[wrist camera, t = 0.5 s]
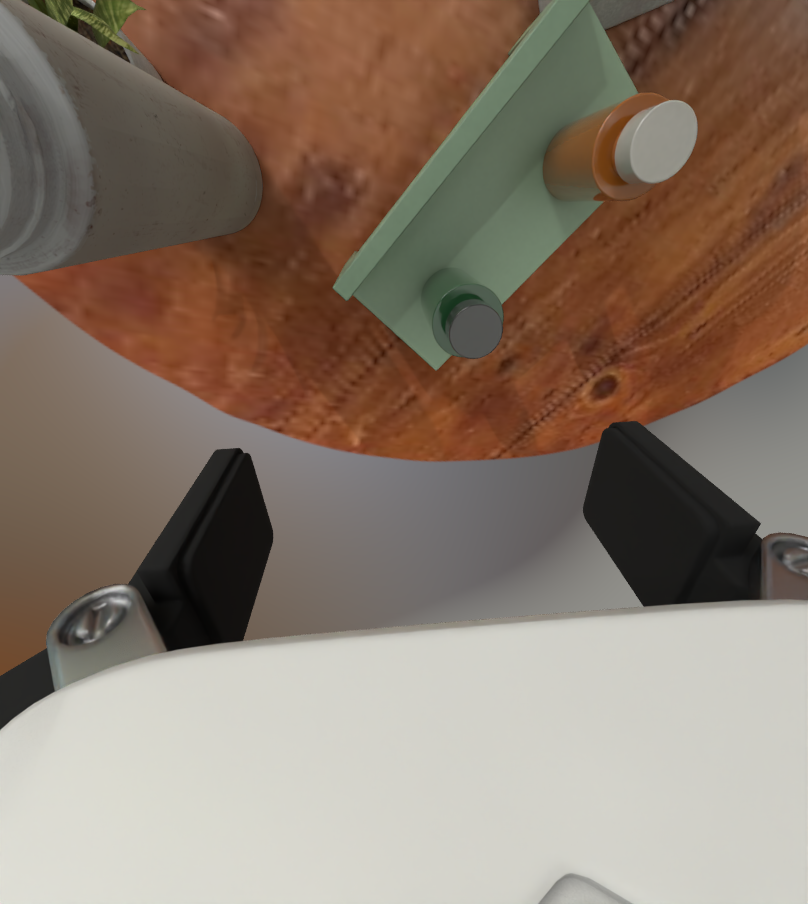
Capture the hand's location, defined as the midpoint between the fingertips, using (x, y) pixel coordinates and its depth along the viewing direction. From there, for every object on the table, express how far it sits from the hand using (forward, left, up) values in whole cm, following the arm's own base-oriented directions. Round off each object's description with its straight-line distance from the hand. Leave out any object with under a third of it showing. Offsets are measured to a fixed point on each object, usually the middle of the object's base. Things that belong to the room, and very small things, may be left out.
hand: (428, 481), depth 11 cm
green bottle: (-3, +3, -21) cm, 22 cm away
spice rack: (-9, +1, -29) cm, 31 cm away
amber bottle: (-14, +3, -21) cm, 26 cm away
